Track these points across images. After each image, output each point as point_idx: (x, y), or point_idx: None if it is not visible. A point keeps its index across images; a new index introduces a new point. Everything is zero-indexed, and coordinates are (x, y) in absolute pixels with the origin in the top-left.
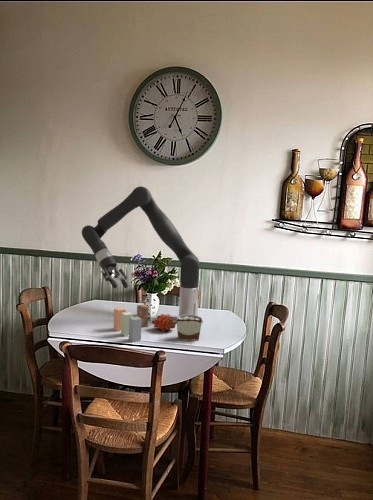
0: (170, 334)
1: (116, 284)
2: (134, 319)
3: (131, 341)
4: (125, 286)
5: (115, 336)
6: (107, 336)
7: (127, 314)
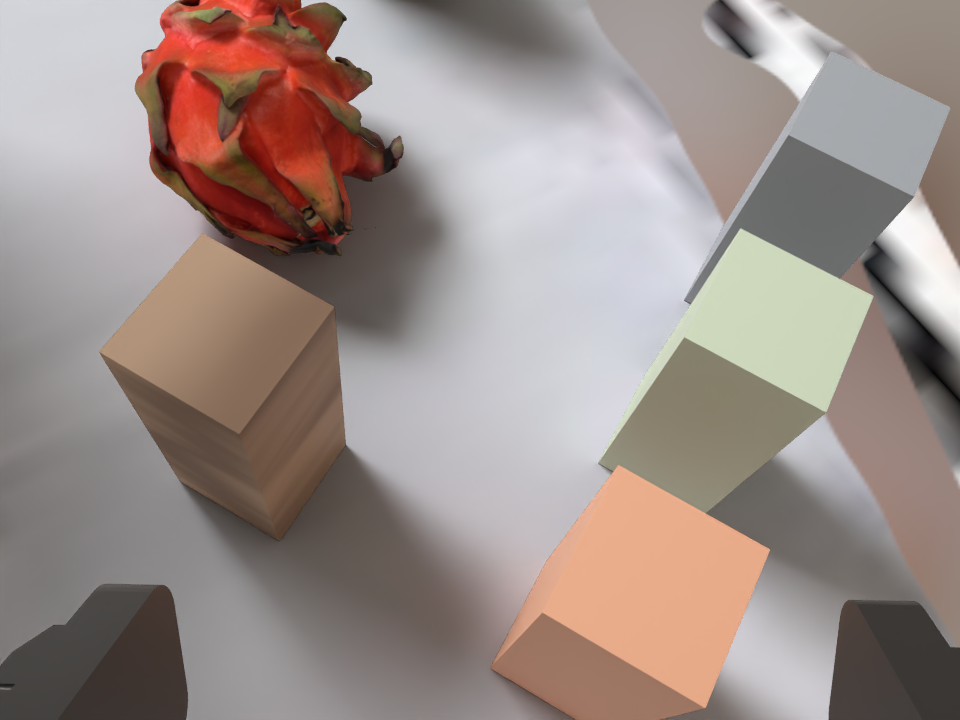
0: None
1: (910, 630)
2: (918, 106)
3: None
4: (164, 690)
5: (808, 524)
6: None
7: (820, 288)
